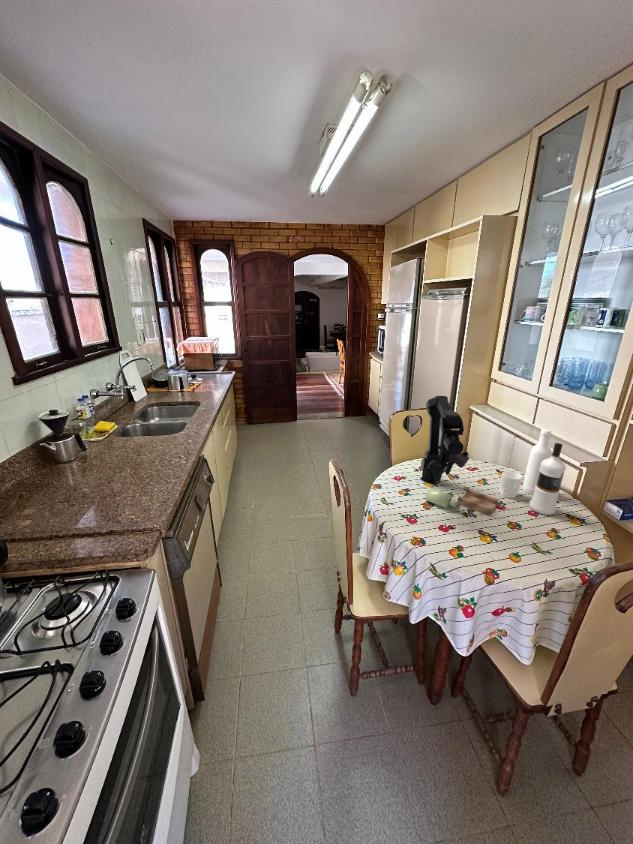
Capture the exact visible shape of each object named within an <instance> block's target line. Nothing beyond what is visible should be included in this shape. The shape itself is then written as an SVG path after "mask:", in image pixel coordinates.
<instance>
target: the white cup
mask: <svg viewBox="0 0 633 844" xmlns="http://www.w3.org/2000/svg"><path fill="white" fill-rule="evenodd" d="M522 480H523V476H522V474H520V473H518V472H516V471H512V470H504V471H502V473H501V478H500V486H499V488H500V489H499V494H500V495H501V496H502V497H504V498H506V499H507V498H508V499H516V498H517V496H518V492H519V490H520V487H521V484H522Z"/></svg>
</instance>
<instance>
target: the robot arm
mask: <svg viewBox="0 0 633 844" xmlns="http://www.w3.org/2000/svg"><path fill="white" fill-rule="evenodd" d="M425 404H426V405H425V410H426V412H427V416H428V418H429V433H428V445H427V446H428V449H427V450H426V451H425V452H424V456H423V458H422V459H421V461H420V467H421V471H422V473H421V477H420V478H419V480H420V481H423V482H425V483H428V484H432V485H433V484H435V483H437V484H440V482H441V479H442V476H443V474H445V475H446V476H449V475H450V472H451V471H452V469H453V466H454V465H457V467H459V468H460V469H461V468H464V467H465V466H466V465H467V463H468V461H469V460H470V457H469V455H470V454H469V452H468V451H466V450H465V451H463V450H464V449H465V447H464V444H463V442H462V441H461V440H460V436H463V435H464V431H465V427H464V422H463V418H462V417H461V415H460V414H459V413H458V412H456V411H454V410H453V408H452V406H451V404H450V402H449V398H448V396H447V395H436V396H434V397H432V398H430V399H428V400H427V401H426V403H425ZM440 432H441V435H440Z"/></svg>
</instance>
